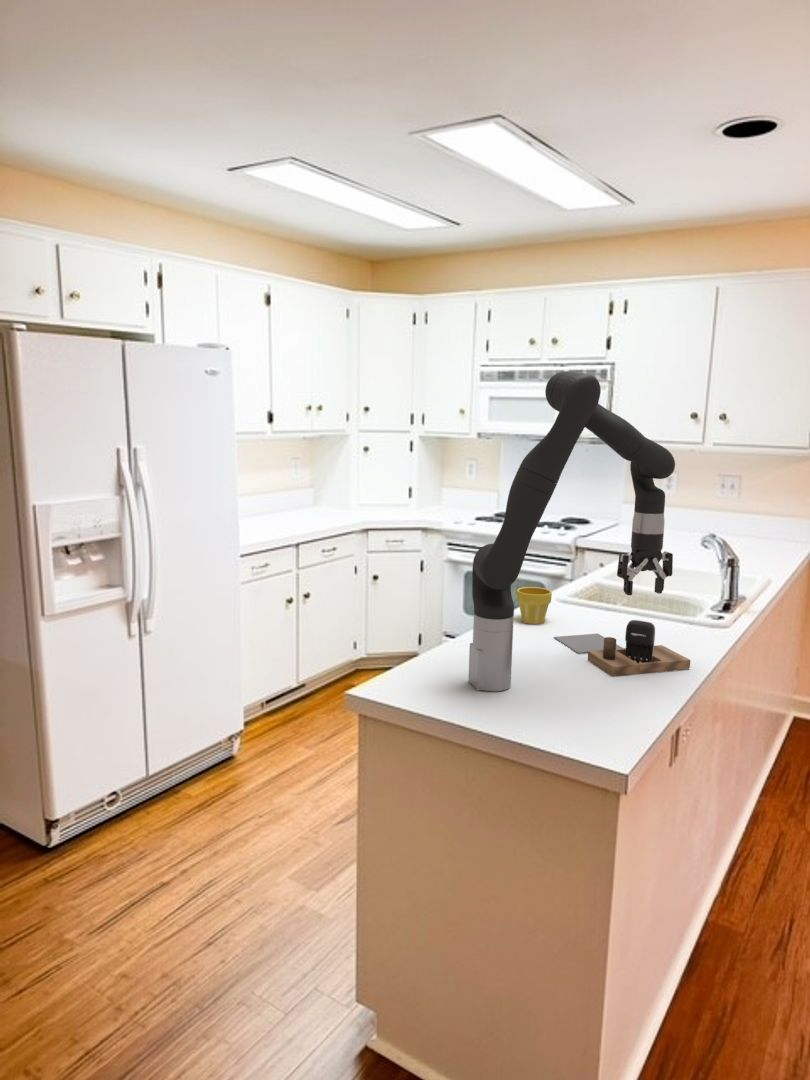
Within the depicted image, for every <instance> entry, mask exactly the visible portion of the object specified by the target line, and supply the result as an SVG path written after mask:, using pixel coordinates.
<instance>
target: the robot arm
mask: <svg viewBox="0 0 810 1080" xmlns="http://www.w3.org/2000/svg"><path fill="white" fill-rule="evenodd" d="M544 390H545V392H544V394H545V398H546V401H547V403H548V405H549V407H551V408H552V409H553V410H555V411H557V412H558V414H557V416H556V419H555V421H554V423H552V424H553V425H552V427H551V428H550V429H549V431H548V432H547V434H546V435H545V436H544V437H543V438H542V439H541V440H540V441H539V442H538V443H536V445H535V446H534V447H532V449H531V450H530V451H529V452H528V453H527V454H526V456H525V457H523V459H522V461H521V462H520V465H519V467H518V469H517V471H516V473H515V476H514V479H513V480H512V482H511V486H510V489H509V491H508V496H507V501H506V508H505V513H504V518H503V521H502V522H503V523H502V525H501V528H500V530H499V532H498V534H497V535H496V538H495V539H494V542H493V543H488V544H485V545H482V546H481V547H480V548H479V549H478V550H477V552H475V554H474V557H473V561H472V574H471V575H472V577H471V578H472V579H471V582H472V584H471V585H472V587H471V591H472V592H471V594H472V597H471V599H472V603H473V622H472V623H473V624H472V625H473V627H472V628H473V629H472V642H471V643H469V651H468V653H469V654H468V683H469V684H471V686H473V688H474V689H475V690H476V691H485V692H502V691H506V690H508V689H510V688H511V686H512V685H511V684H512V665H513V664H512V662H513V661H512V660H513V643H514V642H513V640H514V637H513V636H514V615H515V604H514V600H513V596H512V585H513V584H514V583H515V582H516V581H517V579H518V578H519V575H520V571H521V569H522V567H523V563H524V560H525V557H526V555H527V551H528V548H529V545H530V542H531V540H532V537H533V536H534V533H535V531H536V529H537V528H538V526H539V523H540V521H541V519H542V516H543V515H544V512H545V510H546V508H547V506H548V504H549V502H550V500H551V498H552V496H553V495H554V491H555V489H556V488H557V485H558V483H559V481H560V478H561V476H562V473H563V470H564V468H565V467H566V464H567V462H568V460H569V459H570V456H571V454H572V452H573V451H574V448H575V445H576V443H577V442H578V440H579V439H580V437H581V435H582V433H583V431H584V430H585V429H587V430H588V431H589V432H591V433H592V434H593V435H595V436H596V437H597V438H598V439H600V440H601V441H602V442H603V443H605V444H606V445H607V446H608V447H609V448H610V449H611V450H612V451H613V452H615V453H616V454H617V455H619V456H620V457H621V458H623V460H626V461H628V462H630V466H629V468H630V475H631V481H632V486H633V491H634V496H635V497H634V511H633V517H632V526H631V528H632V529H631V539H630V540H631V541H630V542H631V543H630V548H631V552H630V554H625V553H619V555H618V562H617V563H618V564H617V571H616V576H617V577H618V578H620V579H622V580H623V590H622V591H623V593H624V594H625V595H626V596H632V595H633V589H634V587H633V586H634V581H633V580H634V578H635V577H636V575H639V574H640V573H641V572H646V571H649V572H650V571H651V572H653V573H654V575H655V576H656V577H655V579H654V592H655V594H662V593H663V591H664V589H665V580H666V578H668V577H672V576H673V568H674V567H673V564H674V563H673V562H674V561H673V560H674V558H673V557H674V555H673V553H671V552H670V551H667V550H666V551H665V550H664V551H663V552H662V550H663V547H664V534H665V506H666V493H665V491H664V490H663V489H661V488H659V487H658V486H656V485H655V482H654V479H656V480H665V479H668V478H669V477H670V476H671V475H672V474H674V471H675V468H676V460H675V457H674V455H673V454H672V453H671V452H670V451H669V450H668V449H667V448H666V447H664V446H662V444H661V445H660V444H659V443H657V442H655V441H653V440H652V439H649V438H648V437H646V436H644V434H643V433H641V432H640V430H638V429H637V428H636V427H635V426H634V425H632V424H631V423H630V422H628V421H627V420H626V419H624V418H622V417H621V416H619V415H618V414H616V413H614V412H613V411H610V410H609V409H607V408H605V406H602V405H601V404H600V403H599V401H600V398H601V391H602V390H601V384H600V381H599V380H598V378H597V377H596V376H594V375H592V374H588V373H582V372H576V371H569V370H568V371H567V370H566V371H559V372H557V373H555V374H553V375H552V376H551V377H550V378H549V379H548V381H547V383H546V386H545V389H544ZM661 561H662V566H661V564H660V562H661ZM629 563H630V564H629Z"/></svg>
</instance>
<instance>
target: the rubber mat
mask: <svg viewBox="0 0 810 1080" xmlns="http://www.w3.org/2000/svg"><path fill="white" fill-rule="evenodd" d="M554 638H555V639H554ZM604 638H606V636H603V635H601V634H600V633H588V634H587V633H586V634H576V635H575V634H574V635H562V636H560V635H559V636H553V639H554V640H556V641H557V640H558V641H557V642H559V643H560V642H561V643H560V644H562V645H563V644H564V645H563V646H565V647H566V646H567V648H568V649H569V648H570V650H571V651H572V650H573V651H572V652H573V653H576V654H577V655H585V654H588V651H596V650H603V647H604ZM620 648H623V646H621V645H618V644H617V643H616V649H620Z"/></svg>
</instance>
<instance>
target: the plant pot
mask: <svg viewBox="0 0 810 1080" xmlns="http://www.w3.org/2000/svg"><path fill="white" fill-rule="evenodd" d="M552 596H553V594H552V591H551V590H550V589H547V588H544V587H539V586H538V587H537V586H536V587H535V586H523V587H519V588H517V590H516V601H517V602H518V606H519V609H520V616H521V621H522V622H523V623H524V624H527V623H528V624H529V625H542V624H544V623H545V619H546V616H547V611H548V608H549V605H550V604H551V603H552Z"/></svg>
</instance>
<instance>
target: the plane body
mask: <svg viewBox="0 0 810 1080" xmlns="http://www.w3.org/2000/svg"><path fill="white" fill-rule="evenodd" d="M616 644H617V638H615V637H611V636H605V638H604V647H603V650H596V651H588V653H587V661H588V662H590V663H591V664H592V665H594V666H596V667H597V668H599V669H600V670H601V671H603V672H604V673H606V674H607V675H609V676H610V677H623V676H635V675H643V674H656V672H657V673H665V671H667V672H674V671H673V670H678V671H682V670H681V669H688V670H690V669H689V668H691V659H690V658H688V657H686V656H684V655H683V654H680V653H678V652H676V651H674V650H672V649H670V648H668V647H666V646H665V645H663V644H659V645H654V650H653V659H652V662H645V663H637V662H635V661H633V660H631V659H630V658H628V657H626V647H622V648H620V649H616Z"/></svg>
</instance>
